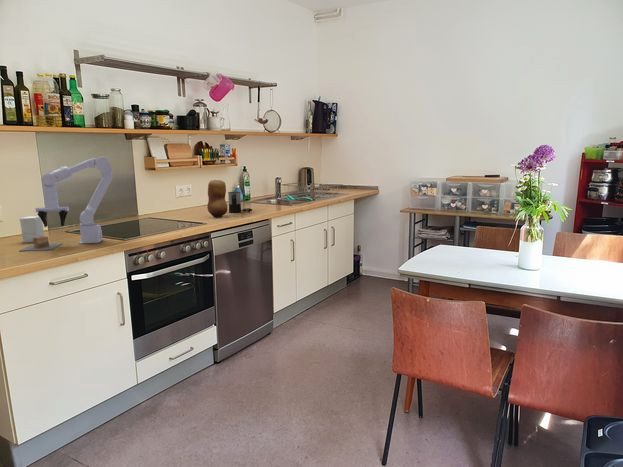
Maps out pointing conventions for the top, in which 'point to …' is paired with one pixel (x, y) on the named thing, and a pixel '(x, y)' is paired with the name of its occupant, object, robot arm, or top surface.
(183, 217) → the top surface
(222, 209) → the butternut squash
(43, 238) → the oak cube
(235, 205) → the milk frother
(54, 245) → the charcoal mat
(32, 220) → the supplement box
